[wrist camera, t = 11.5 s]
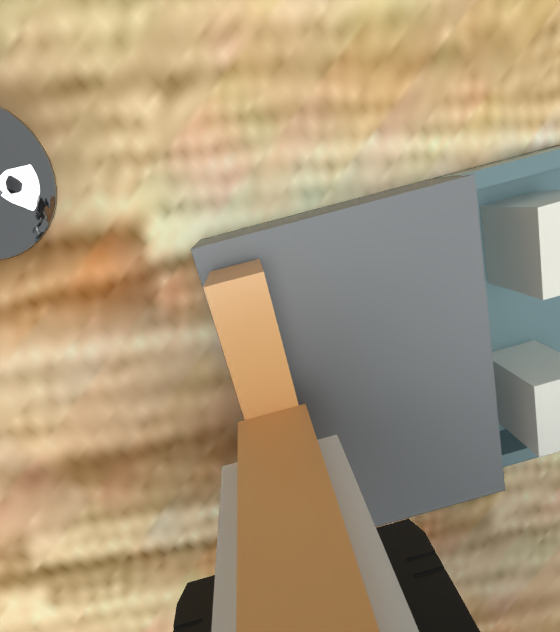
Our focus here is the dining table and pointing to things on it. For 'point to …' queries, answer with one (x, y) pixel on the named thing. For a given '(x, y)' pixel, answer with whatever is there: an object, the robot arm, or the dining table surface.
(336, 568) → the orange t-shaped block
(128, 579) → the dining table surface
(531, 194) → the white rectangular block
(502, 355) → the white cube block
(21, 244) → the wine glass
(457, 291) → the grey drawer housing
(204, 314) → the dining table surface
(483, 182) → the blue-grey flat tray
